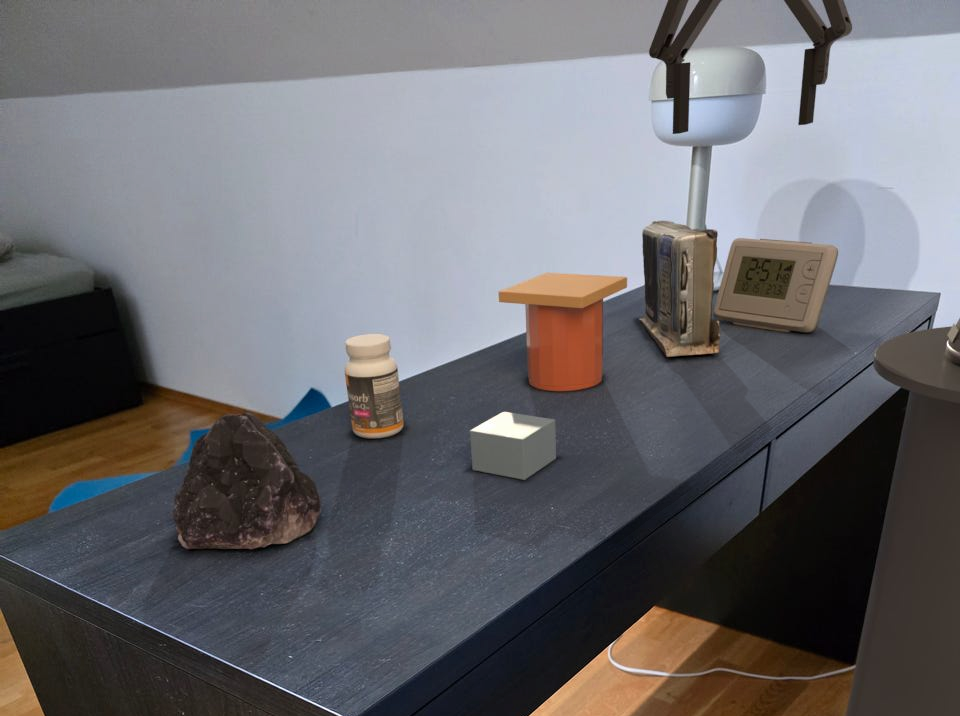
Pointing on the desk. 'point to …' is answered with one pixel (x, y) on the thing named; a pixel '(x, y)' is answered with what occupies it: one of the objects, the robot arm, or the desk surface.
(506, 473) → the stand
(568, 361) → the cup
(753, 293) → the digital clock
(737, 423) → the desk surface
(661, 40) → the robot arm
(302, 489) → the crystal cluster
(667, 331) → the radio
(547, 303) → the mat
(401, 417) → the pill bottle
